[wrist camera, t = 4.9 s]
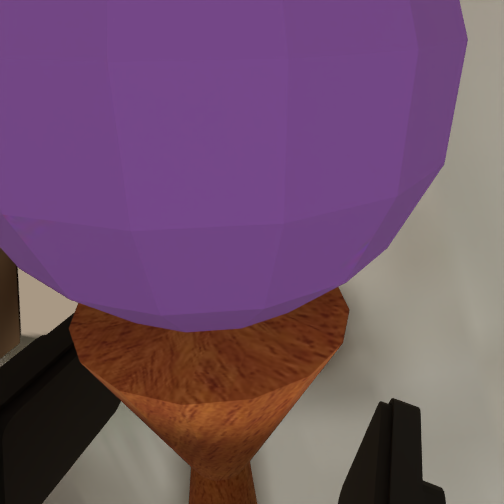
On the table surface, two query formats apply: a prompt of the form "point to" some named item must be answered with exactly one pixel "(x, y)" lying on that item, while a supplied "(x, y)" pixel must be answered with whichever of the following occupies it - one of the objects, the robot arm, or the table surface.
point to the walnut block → (9, 305)
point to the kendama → (216, 191)
